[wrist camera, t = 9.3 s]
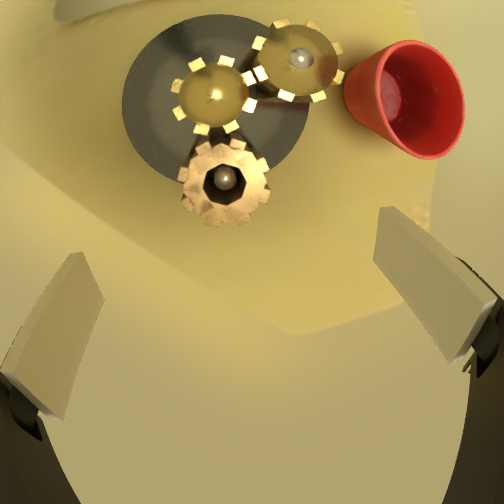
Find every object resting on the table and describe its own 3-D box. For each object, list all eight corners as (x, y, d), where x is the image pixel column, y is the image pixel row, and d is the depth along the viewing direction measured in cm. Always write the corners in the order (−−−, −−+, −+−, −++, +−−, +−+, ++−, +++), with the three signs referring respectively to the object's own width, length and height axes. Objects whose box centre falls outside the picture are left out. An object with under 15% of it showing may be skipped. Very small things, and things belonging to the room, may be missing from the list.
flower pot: (362, 158, 28) (413, 184, 19) (309, 77, 23) (352, 66, 14) (420, 116, 25) (477, 130, 17) (378, 38, 20) (433, 26, 12)
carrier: (99, 77, 20) (61, 72, 13) (271, -8, 17) (290, -40, 10) (180, 212, 29) (169, 248, 22) (342, 134, 26) (381, 147, 19)
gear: (172, 155, 24) (160, 168, 19) (239, 118, 23) (245, 122, 18) (208, 214, 28) (207, 241, 23) (271, 182, 27) (285, 202, 22)
